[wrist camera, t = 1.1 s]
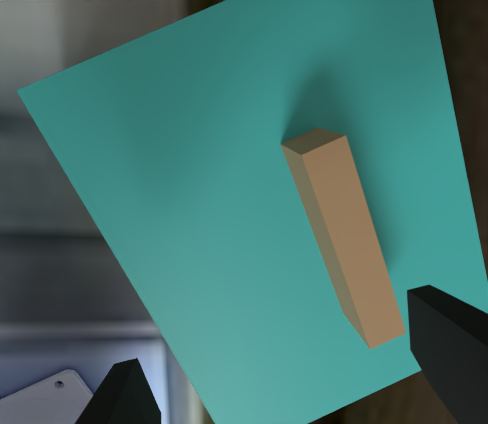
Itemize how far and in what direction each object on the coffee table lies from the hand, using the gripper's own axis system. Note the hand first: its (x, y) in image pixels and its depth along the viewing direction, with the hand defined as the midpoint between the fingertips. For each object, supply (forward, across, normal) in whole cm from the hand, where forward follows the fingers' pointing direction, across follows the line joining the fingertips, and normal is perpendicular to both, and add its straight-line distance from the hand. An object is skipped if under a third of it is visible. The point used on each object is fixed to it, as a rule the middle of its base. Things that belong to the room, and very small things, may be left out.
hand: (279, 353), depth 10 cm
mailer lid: (+6, -2, 0) cm, 7 cm away
